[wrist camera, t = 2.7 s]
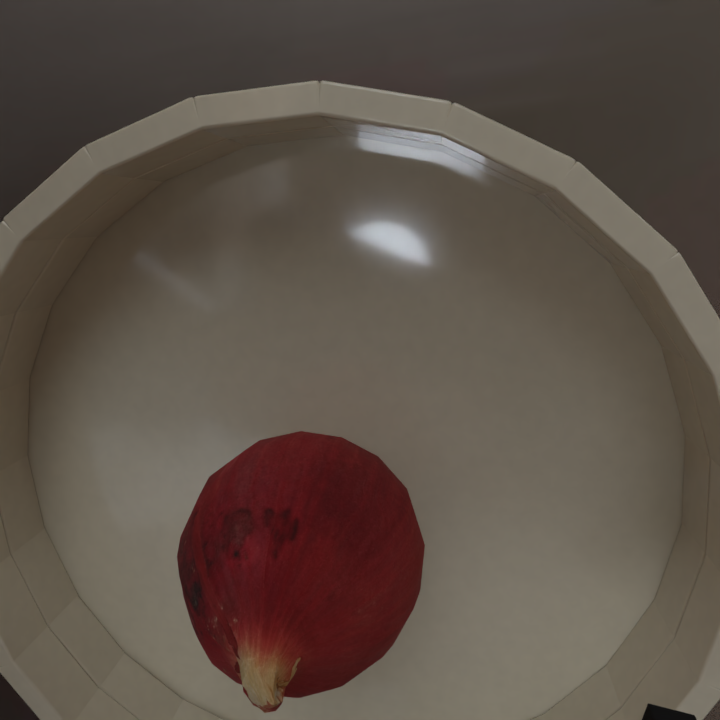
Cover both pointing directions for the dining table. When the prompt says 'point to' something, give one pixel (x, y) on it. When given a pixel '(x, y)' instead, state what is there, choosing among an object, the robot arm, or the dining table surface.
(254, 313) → the cream bowl
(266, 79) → the dining table surface
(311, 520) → the onion
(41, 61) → the dining table surface
